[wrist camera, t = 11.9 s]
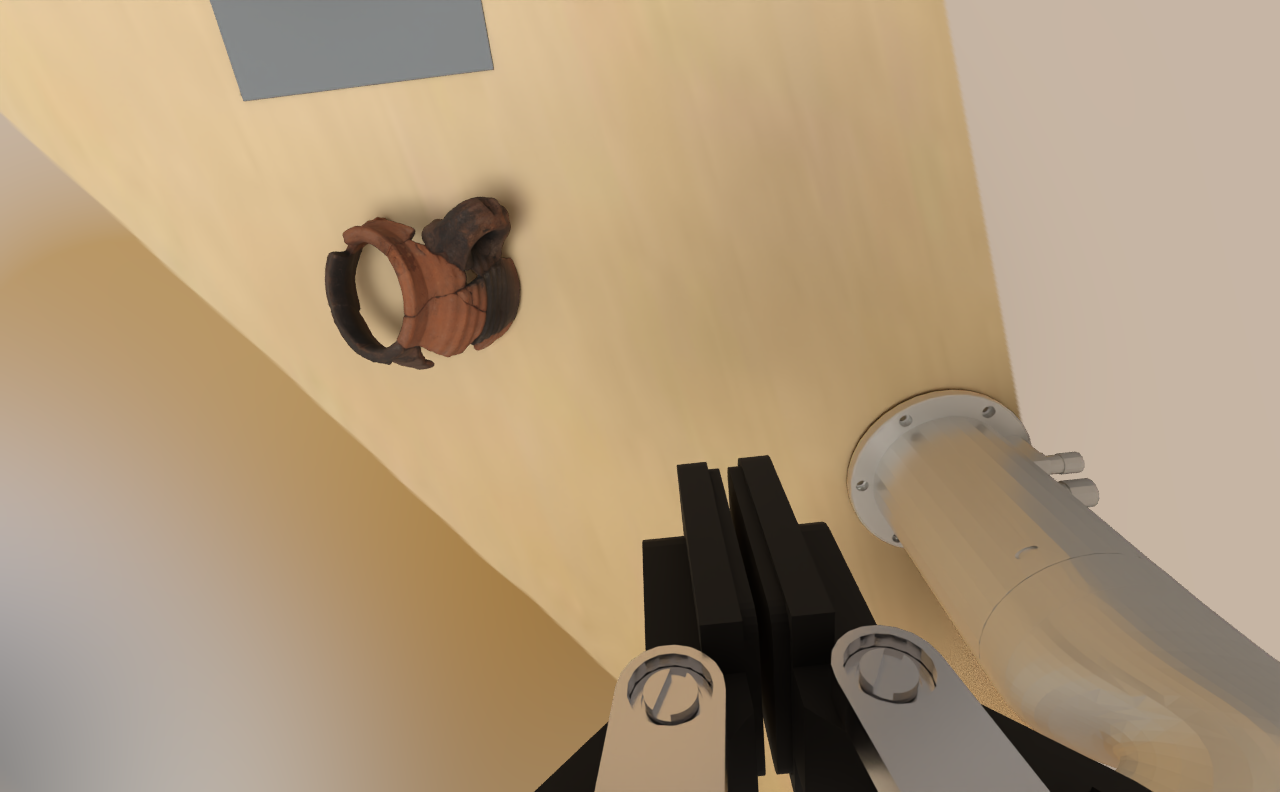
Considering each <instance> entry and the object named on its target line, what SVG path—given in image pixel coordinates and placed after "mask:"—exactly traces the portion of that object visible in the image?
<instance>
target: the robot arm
mask: <svg viewBox="0 0 1280 792" xmlns="http://www.w3.org/2000/svg"><path fill="white" fill-rule="evenodd" d="M902 416H903V417H902ZM901 417H902V418H901ZM1083 469H1084V460H1083V457H1082V456H1081V455H1080V453H1077V452H1069V453H1059V454H1055V455H1049V456H1045V455H1044V454H1043V453H1040V452H1038V451H1037V450H1036V449H1035V448H1033V447H1032V446H1031V442H1030V438H1029V435H1028V433H1027V431H1026V429H1025V427H1024V425H1023V423H1022V422H1021V421H1020V420H1019V419H1018V418H1017V417H1016V416H1015V414H1014V413H1013V412H1012V411H1010V410H1009V409H1008V408H1006V407H1005V406H1004V405H1002V404H1001V403H1000V402H998V401H996V400H994V399H992V398H990V397H988V396H986V395H983V394H979V393H976V392H972V391H964V390H944V391H935V392H931V393H927V394H924V395H920V396H916V397H914V398H912V399H910V400H908V401H905V402H903V403H901V404H899V405H897V406H896V407H894V408H893V409H891V410H890V411H888V412H887V413H885V414H884V415H883V416H882V417H881V418H879V419H878V420H877V421H876V422H875V423H874V424H873V425H872V426H871V427H870V428H869V429H868V431H867V432H866V433H865V434H864V436H863V437H862V438H861V440H860V441H859V443H858V445H857V447H856V449H855V451H854V453H853V455H852V458H851V461H850V465H849V468H848V476H847V488H848V495H849V499H850V502H851V504H852V507H853V509H854V511H855V513H856V514H857V516H858V518H859V519H860V521H861V523H862V524H863V525H864V526H865V527H866V528H867V529H868V530H869V531H870V533H872V534H873V535H875V536H876V537H878V538H879V539H880V540H882V541H884V542H886V543H888V544H891V545H893V546H896V547H900V548H904V549H905V550H906V552H907V553H908V555H909V556H910V558H911V559H912V561H913V563H914V564H915V566H916V567H917V569H918V570H919V572H920V573H921V575H922V576H923V578H924V580H925V581H926V583H927V584H928V586H929V587H930V589H931V590H932V592H933V593H934V595H935V597H936V598H937V600H938V601H939V603H940V604H941V606H942V607H943V609H944V610H945V612H946V614H947V615H948V617H949V618H950V620H951V621H952V623H953V624H954V626H955V627H956V629H957V631H958V632H959V634H960V635H961V637H962V638H963V640H964V641H965V643H966V644H967V646H968V648H969V649H970V651H971V652H972V654H973V655H974V657H975V658H976V660H977V661H978V663H979V665H980V666H981V668H982V669H983V671H984V672H985V674H986V675H987V677H988V678H989V680H990V681H991V683H992V684H993V686H994V687H995V689H996V690H997V692H998V693H999V695H1000V696H1001V697H1002V699H1003V700H1004V701H1005V703H1006V704H1007V705H1008V706H1009V708H1010V709H1011V710H1012V711H1013V712H1014V713H1015V714H1016V715H1017V716H1018V717H1019V718H1020V719H1021V720H1022V721H1024V722H1025V723H1026V724H1028V725H1029V726H1030V727H1032V728H1033V729H1034V730H1035V731H1034V730H1032V729H1030V728H1028V727H1026V726H1024V725H1022V724H1020V723H1018V722H1016V721H1014V720H1012V719H1010V718H1008V717H1006V716H1004V715H1002V714H1000V713H998V712H996V711H994V710H992V709H990V708H988V707H986V706H984V705H982V704H980V703H979V702H978V700H977V699H976V698H975V697H974V695H973V694H972V693H971V692H970V690H969V689H968V688H967V687H966V685H965V684H964V683H963V682H962V680H961V679H960V678H959V677H958V675H957V674H956V673H955V672H954V670H953V669H952V668H951V667H950V665H949V664H948V663H947V662H946V660H945V659H944V658H943V657H942V655H941V654H940V653H939V652H938V651H937V650H936V649H935V648H934V647H933V646H932V645H930V644H929V643H928V642H927V641H925V640H923V639H922V638H920V637H918V636H917V635H915V634H913V633H911V632H908V631H905V630H902V629H899V628H896V627H890V626H882V625H877V624H876V622H875V620H874V618H873V616H872V614H871V612H870V610H869V608H868V606H867V604H866V602H865V600H864V598H863V596H862V594H861V592H860V590H859V588H858V586H857V584H856V582H855V580H854V578H853V576H852V574H851V572H850V570H849V568H848V566H847V564H846V562H845V560H844V558H843V556H842V553H841V551H840V549H839V547H838V545H837V543H836V541H835V539H834V537H833V535H832V533H831V531H830V529H829V527H828V526H827V524H826V523H824V522H815V523H805V524H798V523H797V520H796V518H795V516H794V513H793V511H792V509H791V506H790V504H789V501H788V499H787V497H786V494H785V492H784V490H783V487H782V485H781V482H780V480H779V478H778V475H777V473H776V470H775V468H774V466H773V463H772V461H771V459H770V457H769V456H768V455H766V456H756V457H747V458H738V466H737V467H728V488H729V503H730V509H729V505H728V502H727V498H726V494H725V490H724V486H723V482H722V478H721V475H720V471H719V469H708V467H707V463H706V462H700V463H691V464H681V465H677V473H678V483H679V492H680V502H681V512H682V522H683V531H684V536H679V537H669V538H660V539H650V540H643V542H642V548H643V580H644V613H645V645H646V651H644V652H643V653H641V654H640V655H638V656H637V657H635V658H634V659H632V660H631V661H630V662H629V663H628V665H627V666H626V667H625V668H624V669H623V671H622V672H621V674H620V676H619V679H618V682H617V684H616V688H615V693H614V698H613V703H612V708H611V713H610V718H609V721H608V722H607V723H606V724H605V725H604V726H603V727H602V728H601V729H600V730H599V731H598V732H597V733H596V734H595V735H594V736H593V737H591V738H590V739H589V740H588V741H587V742H586V743H585V744H584V745H583V746H582V747H581V748H580V749H579V750H578V751H577V752H576V753H575V754H574V755H572V756H571V757H570V759H568V760H567V761H566V762H565V763H564V764H563V765H562V766H561V767H560V768H559V769H558V770H557V771H556V772H555V773H554V774H552V776H550V777H549V778H548V779H547V780H546V781H545V782H544V783H543V784H542V785H541V786H540V787H539V788H538V789H537V790H536V791H535V792H758V776H765V774H766V770H765V750H764V729H763V719H764V723H765V728H766V732H767V737H768V741H769V746H770V750H771V755H772V759H773V763H774V767H775V771H776V773H777V774H787V773H789V775H790V779H791V783H792V787H793V791H794V792H1280V662H1279V661H1277V660H1276V659H1275V658H1273V657H1272V656H1270V655H1269V654H1268V653H1266V652H1265V651H1264V650H1262V649H1261V648H1260V647H1258V646H1257V645H1256V644H1255V643H1253V642H1252V641H1251V640H1249V639H1248V638H1247V637H1246V636H1244V635H1243V634H1242V633H1240V632H1239V631H1238V630H1237V629H1235V628H1234V627H1233V626H1231V625H1230V624H1229V623H1228V622H1226V621H1225V620H1224V619H1223V618H1221V617H1220V616H1219V615H1218V614H1216V613H1215V612H1214V611H1212V610H1211V609H1210V608H1209V607H1207V606H1206V605H1205V604H1203V603H1202V602H1201V601H1200V600H1199V599H1198V598H1196V597H1195V596H1194V595H1193V594H1191V593H1190V592H1189V591H1188V590H1187V589H1185V588H1184V587H1183V586H1182V585H1181V584H1179V583H1178V582H1177V581H1176V580H1175V579H1173V578H1172V577H1171V576H1170V575H1169V574H1167V573H1166V572H1165V571H1164V570H1162V569H1161V568H1160V567H1158V566H1157V565H1156V564H1155V563H1153V562H1152V561H1151V560H1150V559H1149V558H1147V557H1146V556H1145V555H1144V554H1143V553H1142V552H1140V551H1139V550H1138V549H1137V548H1135V547H1134V546H1133V545H1132V544H1131V543H1130V542H1128V541H1127V540H1126V539H1125V538H1123V537H1122V536H1121V535H1120V534H1119V533H1118V532H1116V531H1115V530H1114V529H1113V528H1112V527H1110V526H1109V525H1108V524H1107V523H1106V522H1104V521H1103V520H1102V519H1101V518H1100V517H1098V516H1097V515H1096V514H1095V513H1094V512H1093V511H1091V510H1090V509H1089V508H1088V507H1093V506H1095V505H1097V504H1098V501H1099V491H1098V489H1097V487H1096V485H1095V484H1094V482H1093V481H1092V480H1090V479H1088V478H1084V479H1074V480H1064V481H1059V482H1057V481H1055V480H1054V479H1053V478H1052V477H1051V476H1050V474H1068V473H1078V472H1081V471H1083ZM1036 731H1037V732H1036ZM1094 760H1095V761H1094ZM1096 761H1098V762H1100V763H1103V764H1106V765H1109V766H1112V767H1114V768H1117V769H1116V770H1115V771H1114V770H1112V769H1110V768H1108V767H1106V766H1104V765H1102V764H1100V763H1098V762H1096Z"/></svg>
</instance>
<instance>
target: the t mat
mask: <svg viewBox="0 0 1280 792" xmlns="http://www.w3.org/2000/svg"><path fill="white" fill-rule="evenodd" d="M210 2H211V5H212V8H213V11H214V14H215V17H216V20H217V23H218V26H219V29H220V32H221V35H222V38H223V41H224V44H225V47H226V50H227V53H228V56H229V59H230V62H231V65H232V68H233V71H234V74H235V77H236V80H237V83H238V86H239V89H240V92H241V95H242V98H243V101H249V100H257V99H265V98H273V97H281V96H288V95H296V94H304V93H312V92H320V91H328V90H336V89H343V88H351V87H359V86H367V85H375V84H383V83H391V82H398V81H406V80H414V79H422V78H430V77H438V76H446V75H453V74H461V73H469V72H477V71H485V70H493V69H494V68H493V63H492V57H491V52H490V46H489V41H488V35H487V30H486V25H485V19H484V14H483V8H482V3H481V0H210Z"/></svg>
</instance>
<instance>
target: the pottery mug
mask: <svg viewBox="0 0 1280 792" xmlns="http://www.w3.org/2000/svg"><path fill="white" fill-rule="evenodd" d="M510 228H511V227H510V221H509V215H508V212H507V210H506V209H505V208H504V207H503V206H501V205H500V204H499V203H498V201H497V200H496V199H494V198H487V197H475V198H470V199H468V200H465V201H463V202H462V203H460V204H458V205H457V206H456V207H455V208H453V209H452V210H451V211H449V212H448V213H447V215H446V216H445V217H444V219H436V220H433V221H432V222H431V223H430V224H429V225H427V226H426V227H424V229H423V231H422V239H423V241H424V243H425V245H422V244H420V243H416V242H414V241H412V238H413V237H414V235H415V229H414V228H412V227H410V226H406V225H404V224H401V223H396V222H394V221H389V220H386V219H385V218H379V217H377V218H375V219H374V220H372V221H367V222H366V223H365V224H363V225H362V226H354V227H352V228H350V229H348V230H346V231H345V232H344V233H343V238H344V242H345V243H346V244H347V245H348V247H347V249H346V251H344V252H331V253H329V255H328V257H327V263H326V268H325V287H326V295H327V300H328V303H329V306H330V308H331V313H332V316H333V319H334V323H335V324H336V326H337V327H338V329H339V331H340V333H341V335H342V337H343V338H344V340H345V341H346V342H347V344H348V345H349V346H350V347H351V348H352V349H353V350H354V351H355V352H356V353H357V354H359V355H361V356H362V357H364V358H366V359H368V360H371V361H372V362H378V363H383V364H388V365H390V364H391V363H392V362H394V363H397V364H399V365H402V366H407V367H412V368H415V369H419V370H421V369H428V368H431V367H433V366H434V363H433V362H432V361H430V360H427V359H425V357H424V356H423V354H422V352H421V347H424V348H425V349H427V350H429V351H433V352H435V353H436V354H439V355H443V356H446V357H450V356H452V355H457V354H460V353H462V352H463V351H464V350H465V349H466V348H467V347H468V345H469V344H472V345H474V348H475V349H476V350H482V349H484V348H486V347H488V346H489V345H491V344H492V343H493V342H494V341H495V340H496V339H498V338H500V337H501V336H502V335H503V334H504V333H505V332H506V331H507V330H508V329H509V327H510V326H511V324H512V322H513V320H514V319H515V317H516V314H517V310H518V306H519V298H520V283H519V279H518V276H517V272H516V268H515V266H514V263H513V261H512V259H511V258H506V259H505V258H501V254H502V246H503V243H504V240H505V239H506V237H507V236H508V234H509V231H510ZM367 244H372V245H373V246H375V247H376V248H378V249H379V250H380V251H381V252H383V253H384V254H385V255H386V256H387V257H388V259H389V261H390V262H391V264H392V266H393V268H394V270H395V272H396V275H397V277H398V280H399V283H400V286H401V290H402V295H403V301H404V314H405V316H404V318H403V325H402V328H401V331H400V333H399V336H398V338H397V341H396V342H395V343H393V344H392V345H391V346H389V347H387V348H386V347H384V346H383V345H382V344H380V343H379V342H378V341H377V340H376V338H374V336H373V335H372V333H371V331H370V330H369V328H368V326H367V324H366V322H365V320H364V319H363V317H362V316H361V314H360V312H359V311H360V304H359V299H358V295H357V291H356V284H355V275H356V268H357V264H358V261H359V258H360V254H361V252H362V249H363V247H364V246H365V245H367ZM470 269H471V270H473V271H474V272H475V273H476V274H477V275H478V277H477V278H476V279H475V280H473V281H472V282H470V283H469V284H466V278H467V277H466V273H465V271H466V270H470ZM420 346H421V347H420Z"/></svg>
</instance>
